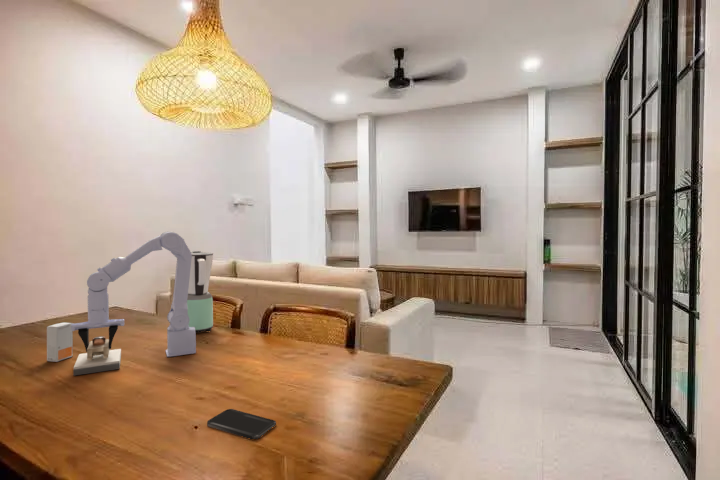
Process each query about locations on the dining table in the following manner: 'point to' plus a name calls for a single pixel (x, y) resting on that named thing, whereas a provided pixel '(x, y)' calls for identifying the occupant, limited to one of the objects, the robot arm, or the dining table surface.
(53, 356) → the skincare box
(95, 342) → the drum
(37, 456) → the dining table surface
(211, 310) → the juicer
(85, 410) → the dining table surface
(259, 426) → the phone
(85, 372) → the dock
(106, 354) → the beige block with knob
